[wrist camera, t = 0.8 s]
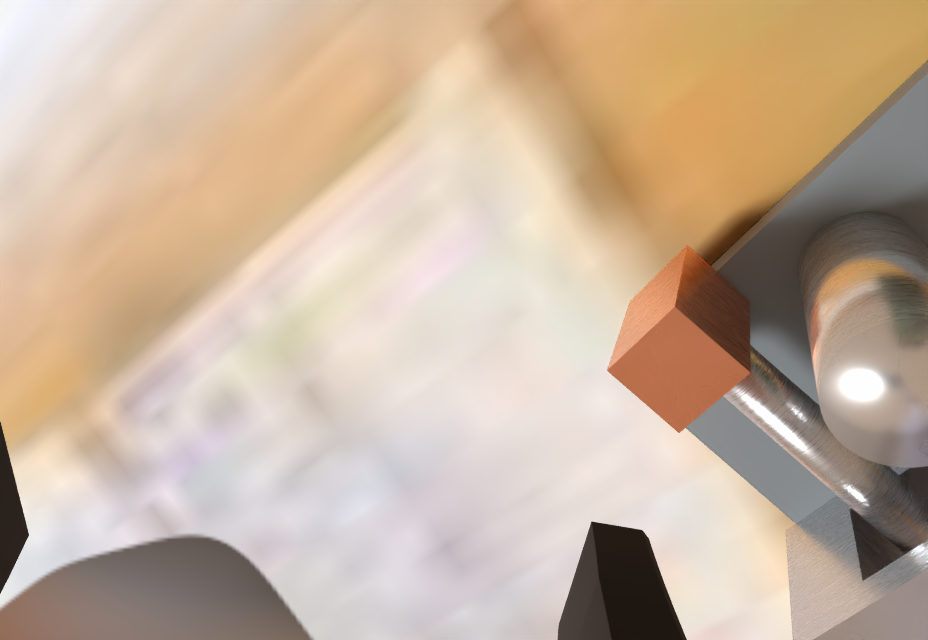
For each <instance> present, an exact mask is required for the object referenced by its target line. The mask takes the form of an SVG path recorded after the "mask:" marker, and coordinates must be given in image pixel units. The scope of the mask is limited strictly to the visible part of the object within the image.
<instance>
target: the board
mask: <svg viewBox="0 0 928 640" xmlns="http://www.w3.org/2000/svg"><path fill="white" fill-rule="evenodd" d="M864 211H869V212H880V213H885V214H889V215H892V216H894V217H897V218H899V219H901V220H902V221H904V222H906V223H907V224H908V225H910V226H911V227H912V228H913V229H914V230H915V231H916V232H917V233H918V235H919V236H920V237H921V239H922V240H923V242H924V244H925V245H926V247H927V249H928V61H927V62H926V63H924V64H923V65H922V66H921V67H920V68H919V69H918V70H917V71H916V72H915V73H914V74H913V75H912V76H911V77H910V78H909V79H908V80H907V81H905V82H904V83H903V84H902V85H901V86H900V87H899V88H898V89H897V90H896V91H895V92H894V93H893V94H892V95H891V96H890V97H889V98H888V99H886V100H885V101H884V102H883V103H882V104H881V105H880V106H879V107H878V108H877V109H876V110H875V111H874V112H873V113H872V114H871V115H870V116H869V117H867V118H866V119H865V120H864V121H863V122H862V123H861V124H860V125H859V126H858V127H857V128H856V129H855V130H854V131H853V132H852V133H851V134H850V135H848V136H847V137H846V138H845V139H844V140H843V141H842V142H841V143H840V144H839V145H838V146H837V147H836V148H835V149H834V150H833V151H832V152H831V153H830V154H828V155H827V156H826V157H825V158H824V159H823V160H822V161H821V162H820V163H819V164H818V165H817V166H816V167H815V168H814V169H813V170H812V171H811V172H809V173H808V174H807V175H806V176H805V177H804V178H803V179H802V180H801V181H800V182H799V183H798V184H797V185H796V186H795V187H794V188H793V189H792V190H790V191H789V192H788V193H787V194H786V195H785V196H784V197H783V198H782V199H781V200H780V201H779V202H778V203H777V204H776V205H775V206H774V207H773V208H771V209H770V210H769V211H768V212H767V213H766V214H765V215H764V216H763V217H762V218H761V219H760V220H759V221H758V222H757V223H756V224H755V225H754V226H752V227H751V228H750V229H749V230H748V231H747V232H746V233H745V234H744V235H743V236H742V237H741V238H740V239H739V240H738V241H737V242H736V243H735V244H733V245H732V246H731V247H730V248H729V249H728V250H727V251H726V252H725V253H724V254H723V255H722V256H721V257H720V258H719V259H718V260H717V261H716V262H714V263H713V264H712V265H711V267H712V268H714V269H715V270H716V271H717V272H718V273H719V274H720V275H722V276H723V277H724V278H725V279H726V280H727V281H728V282H730V283H731V284H732V285H733V286H734V287H735V288H736V289H738V290H739V291H740V292H741V293H742V294H743V295H744V296H745V297H747V298H748V299H749V300H750V345H751V346H752V347H753V348H755V349H756V350H757V351H758V352H759V353H760V354H761V355H763V356H764V357H765V358H766V359H767V360H768V361H769V362H771V363H772V364H773V365H774V366H775V367H776V368H777V369H779V370H780V371H781V372H782V373H783V374H784V375H785V376H786V377H788V378H789V379H790V380H791V381H792V382H793V383H794V384H796V385H797V386H798V387H799V388H800V389H801V390H802V391H804V392H805V393H806V394H807V395H808V396H809V397H810V398H812V399H813V400H814V401H815V402H816V403H817V404H818V405H819V399H818V393H817V387H816V381H815V374H814V368H813V362H812V356H811V350H810V344H809V337H808V331H807V325H806V319H805V313H804V307H803V301H802V294H801V288H800V282H799V273H798V269H799V261H800V257H801V254H802V252H803V249H804V247H805V246H806V244H807V242H808V241H809V239H810V238H811V237H812V236H813V235H814V234H815V233H816V232H817V230H819V229H820V228H821V227H822V226H824V225H825V224H827V223H828V222H830V221H832V220H834V219H836V218H838V217H840V216H843V215H846V214H850V213H855V212H864ZM686 429H688V430H689V431H690V432H691V433H692V434H693V435H695V436H696V437H697V438H698V439H699V440H700V441H701V442H703V443H704V444H705V445H706V446H707V447H708V448H709V449H711V450H712V451H713V452H714V453H715V454H716V455H718V456H719V457H720V458H721V459H722V460H723V461H724V462H726V463H727V464H728V465H729V466H730V467H731V468H733V469H734V470H735V471H736V472H737V473H738V474H739V475H741V476H742V477H743V478H744V479H745V480H746V481H747V482H749V483H750V484H751V485H752V486H753V487H754V488H756V489H757V490H758V491H759V492H760V493H761V494H762V495H764V496H765V497H766V498H767V499H768V500H769V501H771V502H772V503H773V504H774V505H775V506H776V507H777V508H779V509H780V510H781V511H782V512H783V513H784V514H785V515H787V516H788V517H789V518H790V519H791V520H792V521H794V522H795V523H798V522H799V521H801V520H802V519H804V518H805V517H806V516H808V515H809V514H811V513H812V512H814V511H815V510H816V509H818V508H819V507H821V506H822V505H823V504H825V503H826V502H828V501H829V500H831V499H832V498H833V497H835V496H836V494H835V493H834V492H833V491H831V490H830V489H829V488H828V487H827V486H826V485H825V484H823V483H822V482H821V481H820V480H819V479H818V478H817V477H815V476H814V475H813V474H812V473H811V472H810V471H809V470H807V469H806V468H805V467H804V466H803V465H802V464H800V463H799V462H798V461H797V460H796V459H795V458H794V457H792V456H791V455H790V454H789V453H788V452H787V451H786V450H784V449H783V448H782V447H781V446H780V445H779V444H778V443H776V442H775V441H774V440H773V439H772V438H771V437H770V436H768V435H767V434H766V433H765V432H764V431H763V430H761V429H760V428H759V427H758V426H757V425H756V424H755V423H753V422H752V421H751V420H750V419H749V418H748V417H747V416H745V415H744V414H743V413H742V412H741V411H740V410H739V409H737V408H736V407H735V406H734V405H733V404H732V403H730V402H729V401H728V400H727V399H726V398H725V397H724V396H723V397H721V398H720V399H719V400H718V401H717V402H715V403H714V404H713V405H712V406H711V407H709V408H708V409H707V410H706V411H705V412H704V413H702V414H701V415H700V416H699V417H698V418H696V419H695V420H694V421H693V422H692V423H690V424H689V425H688V426H687V427H686Z"/></svg>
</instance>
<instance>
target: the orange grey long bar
mask: <svg viewBox="0 0 928 640" xmlns="http://www.w3.org/2000/svg"><path fill="white" fill-rule="evenodd" d="M607 371H608V372H609V373H611V374H612V375H613V376H614V377H615V378H616V379H617V380H619V381H620V382H621V383H622V384H623V385H624V386H626V387H627V388H628V389H629V390H630V391H631V392H632V393H634V394H635V395H636V396H637V397H638V398H639V399H640V400H642V401H643V402H644V403H645V404H646V405H647V406H649V407H650V408H651V409H652V410H653V411H654V412H655V413H657V414H658V415H659V416H660V417H661V418H662V419H664V420H665V421H666V422H667V423H668V424H669V425H670V426H672V427H673V428H674V429H675V430H676V431H677V432H679V433H680V432H681V431H682V430H683V429H684V428H686V427H687V426H688V425H689V424H690V423H692V422H693V421H694V420H695V419H696V418H698V417H699V416H700V415H701V414H702V413H704V412H705V411H706V410H707V409H708V408H709V407H711V406H712V405H713V404H714V403H715V402H717V401H718V400H719V399H720V398H721V397H723V396H724V397H725V398H726V399H727V400H728V401H729V402H730V403H732V404H733V405H734V406H735V407H736V408H737V409H739V410H740V411H741V412H742V413H743V414H744V415H745V416H747V417H748V418H749V419H750V420H751V421H752V422H753V423H755V424H756V425H757V426H758V427H759V428H760V429H761V430H763V431H764V432H765V433H766V434H767V435H768V436H770V437H771V438H772V439H773V440H774V441H775V442H776V443H778V444H779V445H780V446H781V447H782V448H783V449H784V450H786V451H787V452H788V453H789V454H790V455H791V456H792V457H794V458H795V459H796V460H797V461H798V462H799V463H800V464H802V465H803V466H804V467H805V468H806V469H807V470H809V471H810V472H811V473H812V474H813V475H814V476H815V477H817V478H818V479H819V480H820V481H821V482H822V483H823V484H825V485H826V486H827V487H828V488H829V489H830V490H831V491H833V492H834V493H835V494H836V495H837V496H838V497H839V498H841V499H842V500H843V501H844V502H845V503H846V504H848V505H849V506H850V507H851V508H852V509H853V510H854V511H856V512H857V513H858V514H859V515H860V516H861V517H862V518H864V519H865V520H866V521H867V522H868V523H869V524H870V525H872V526H873V527H874V528H875V529H876V530H877V531H879V532H880V533H881V534H882V535H883V536H884V537H885V538H887V539H888V540H889V541H890V542H891V543H892V544H893V545H895V546H896V547H897V548H898V549H899V550H900V551H901V552H903V553H904V554H906V553H908V552H910V551H911V550H913V549H914V548H916V547H917V546H919V545H921V544H922V543H924V542H925V541H927V540H928V500H927V499H926V498H925V497H924V496H922V495H921V494H920V493H919V492H918V491H917V490H916V489H914V488H913V487H912V486H911V485H910V484H909V483H908V482H906V481H905V480H904V479H903V478H902V477H901V476H900V475H898V474H897V473H896V472H895V471H894V470H893V469H892V468H890V467H889V466H887V465H882V464H878V463H875V462H872V461H869V460H867V459H865V458H862V457H860V456H858V455H857V454H855V453H853V452H851V451H850V450H849V449H847V448H846V447H845V446H843V445H842V444H841V443H840V442H839V441H838V440H837V439H836V438H835V437H834V435H833V434H832V433H831V432H830V430H829V429H828V427H827V425H826V423H825V421H824V419H823V416H822V414H821V410H820V405H818V404H817V403H816V402H815V401H814V400H813V399H812V398H810V397H809V396H808V395H807V394H806V393H805V392H804V391H802V390H801V389H800V388H799V387H798V386H797V385H796V384H794V383H793V382H792V381H791V380H790V379H789V378H788V377H786V376H785V375H784V374H783V373H782V372H781V371H780V370H779V369H777V368H776V367H775V366H774V365H773V364H772V363H771V362H769V361H768V360H767V359H766V358H765V357H764V356H763V355H761V354H760V353H759V352H758V351H757V350H756V349H755V348H753V347H752V346H751V345H750V300H749V299H748V298H747V297H745V296H744V295H743V294H742V293H741V292H740V291H739V290H738V289H736V288H735V287H734V286H733V285H732V284H731V283H730V282H728V281H727V280H726V279H725V278H724V277H723V276H722V275H720V274H719V273H718V272H717V271H716V270H715V269H714V268H712V267H711V266H710V265H709V264H708V263H707V262H706V261H704V260H703V259H702V258H701V257H700V256H699V255H698V254H696V253H695V252H694V251H693V250H692V249H691V248H690V247H689V246H686V247H685V248H684V249H683V250H682V251H681V252H680V253H679V254H678V255H677V256H676V257H675V258H674V259H673V260H672V261H671V262H670V263H669V264H668V265H667V266H666V267H665V268H664V269H663V270H662V271H660V272H659V273H658V274H657V275H656V276H655V277H654V278H653V279H652V280H651V281H650V282H649V283H648V284H647V285H646V286H645V287H644V288H643V289H642V290H641V291H640V292H639V293H638V294H637V295H636V296H635V297H634V298H633V299H632V300H631V301H630V303H629V306H628V309H627V312H626V315H625V318H624V321H623V324H622V327H621V330H620V333H619V336H618V339H617V342H616V345H615V348H614V351H613V354H612V357H611V360H610V363H609V366H608V369H607Z"/></svg>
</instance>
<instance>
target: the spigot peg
mask: <svg viewBox="0 0 928 640" xmlns="http://www.w3.org/2000/svg"><path fill="white" fill-rule="evenodd" d="M798 273H799V282H800V288H801V294H802V301H803V307H804V313H805V319H806V325H807V331H808V337H809V344H810V350H811V356H812V362H813V368H814V374H815V381H816V387H817V393H818V399H819V405H820V410H821V414H822V416H823V419H824V421H825V423H826V425H827V427H828V429H829V430H830V432H831V433H832V434H833V435H834V437H835V438H836V439H837V440H838V441H839V442H840V443H841V444H842V445H843V446H845V447H846V448H847V449H849V450H850V451H851V452H853V453H855V454H857V455H858V456H860V457H862V458H865V459H867V460H869V461H872V462H875V463H878V464H882V465H887V466H892V467H902V468H915V467H924V466H928V249H927V247H926V245H925V244H924V242H923V240H922V239H921V237H920V236H919V235H918V233H917V232H916V231H915V230H914V229H913V228H912V227H911V226H910V225H908V224H907V223H906V222H904V221H902V220H901V219H899V218H897V217H894V216H892V215H889V214H885V213H880V212H869V211H864V212H855V213H850V214H846V215H843V216H840V217H838V218H836V219H834V220H832V221H830V222H828V223H827V224H825V225H824V226H822V227H821V228H820V229H819V230H817V232H816V233H815V234H814V235H813V236H812V237H811V238H810V239H809V241H808V242H807V244H806V246H805V247H804V249H803V252H802V254H801V257H800V261H799V269H798Z"/></svg>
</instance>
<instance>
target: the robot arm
mask: <svg viewBox="0 0 928 640" xmlns="http://www.w3.org/2000/svg"><path fill="white" fill-rule="evenodd" d="M28 536H29V533H28V529H27V525H26V521H25V517H24V513H23V509H22V505H21V501H20V498H19V494H18V490H17V486H16V482H15V478H14V474H13V470H12V466H11V462H10V458H9V454H8V450H7V446H6V442H5V438H4V434H3V430H2V426H1V422H0V593H1V591H2V589H3V587H4V585H5V583H6V582H7V580H8V578H9V576H10V574H11V571H12V569H13V567H14V565H15V563H16V561H17V559H18V557H19V555H20V553H21V551H22V549H23V546H24V544H25V542H26V540H27V538H28ZM558 640H687V639H686V637H685V634H684V632H683V629H682V627H681V625H680V622H679V620H678V617H677V615H676V612H675V610H674V607H673V605H672V602H671V600H670V597H669V594H668V592H667V589H666V587H665V584H664V581H663V578H662V576H661V573H660V570H659V567H658V565H657V562H656V559H655V556H654V553H653V550H652V547H651V544H650V541H649V538H648V537H647V536H646V534H645V533H644V532H643V531H642V530H638V529H632V528H626V527H621V526H615V525H609V524H603V523H597V522H591V525H590V528H589V531H588V534H587V538H586V541H585V544H584V547H583V550H582V553H581V557H580V560H579V563H578V566H577V569H576V572H575V575H574V579H573V582H572V585H571V588H570V591H569V594H568V598H567V601H566V604H565V607H564V610H563V613H562V617H561V620H560V623H559V629H558Z"/></svg>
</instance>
